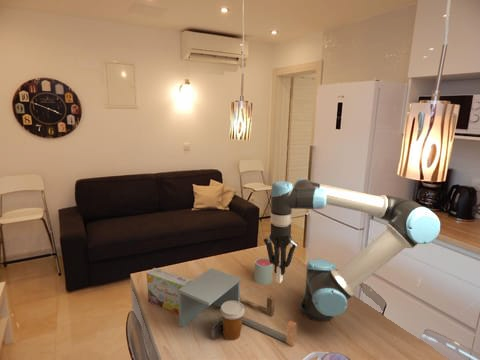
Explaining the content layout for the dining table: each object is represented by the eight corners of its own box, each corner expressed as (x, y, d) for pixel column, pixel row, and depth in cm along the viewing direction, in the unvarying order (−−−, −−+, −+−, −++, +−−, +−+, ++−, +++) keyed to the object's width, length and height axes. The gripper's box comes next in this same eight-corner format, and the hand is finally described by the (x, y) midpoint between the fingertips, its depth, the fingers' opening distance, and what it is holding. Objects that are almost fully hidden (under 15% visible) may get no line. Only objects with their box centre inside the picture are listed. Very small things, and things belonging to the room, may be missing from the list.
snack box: (147, 303, 140) (145, 272, 136) (155, 296, 145) (154, 267, 141) (185, 317, 130) (184, 285, 127) (193, 310, 135) (192, 279, 132)
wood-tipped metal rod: (295, 341, 117) (296, 323, 116) (275, 370, 104) (276, 350, 102) (235, 315, 132) (235, 298, 130) (211, 338, 118) (211, 319, 117)
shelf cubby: (239, 313, 133) (240, 278, 130) (209, 342, 116) (209, 302, 113) (211, 301, 142) (211, 268, 138) (179, 327, 124) (178, 289, 121)
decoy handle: (274, 313, 134) (274, 296, 132) (271, 316, 132) (272, 299, 130) (234, 297, 145) (235, 282, 143) (231, 300, 143) (231, 284, 141)
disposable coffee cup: (240, 345, 115) (241, 317, 113) (216, 340, 118) (216, 312, 115) (246, 328, 124) (247, 302, 122) (223, 324, 127) (224, 298, 124)
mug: (267, 286, 155) (268, 268, 152) (251, 281, 159) (251, 263, 157) (278, 274, 166) (279, 257, 164) (263, 270, 171) (264, 253, 169)
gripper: (301, 223, 115) (298, 281, 120) (268, 217, 121) (268, 272, 126) (294, 229, 109) (292, 290, 114) (260, 223, 115) (259, 281, 120)
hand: (279, 281), depth 120 cm, fingers closed
